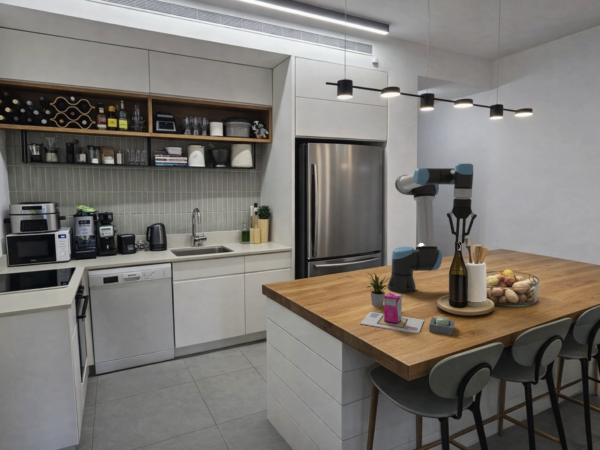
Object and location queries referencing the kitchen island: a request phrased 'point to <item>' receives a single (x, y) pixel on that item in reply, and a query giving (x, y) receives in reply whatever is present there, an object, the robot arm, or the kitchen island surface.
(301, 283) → the kitchen island surface
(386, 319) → the supplement box
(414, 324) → the picture sheet
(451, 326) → the soap dish
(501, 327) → the kitchen island surface
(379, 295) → the house plant
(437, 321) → the button
